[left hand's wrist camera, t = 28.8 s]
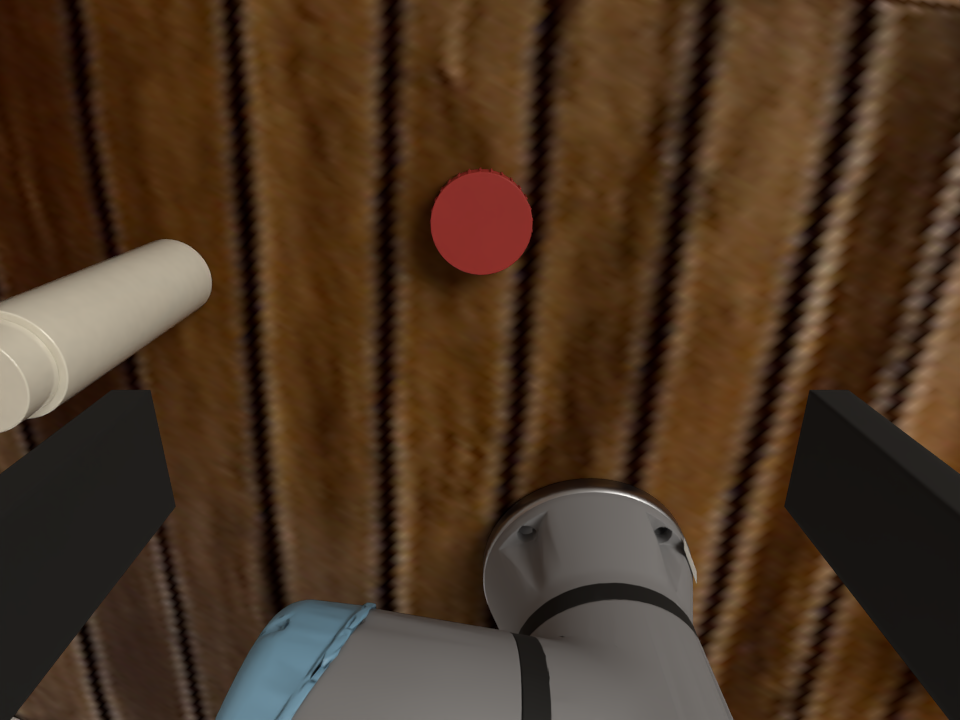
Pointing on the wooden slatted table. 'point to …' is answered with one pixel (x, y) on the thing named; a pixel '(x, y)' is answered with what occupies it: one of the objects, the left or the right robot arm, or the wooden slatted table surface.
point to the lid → (481, 222)
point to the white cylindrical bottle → (92, 324)
